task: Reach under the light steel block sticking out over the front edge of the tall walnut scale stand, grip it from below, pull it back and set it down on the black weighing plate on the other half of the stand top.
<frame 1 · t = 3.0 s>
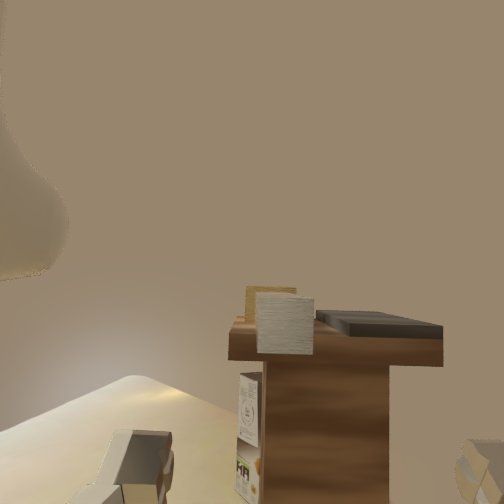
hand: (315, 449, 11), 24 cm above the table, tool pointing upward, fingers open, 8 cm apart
coffee box: (273, 494, 56), on the table
steel block: (273, 329, 34), point 25 cm above the table, touching scale stand
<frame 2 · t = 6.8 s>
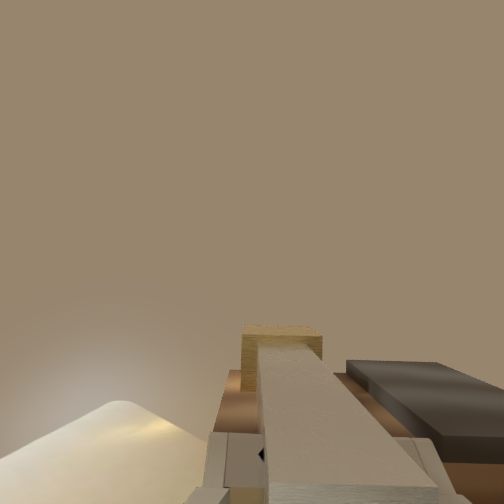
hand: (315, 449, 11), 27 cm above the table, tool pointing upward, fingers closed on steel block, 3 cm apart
steel block: (289, 426, 19), point 25 cm above the table, touching gripper, scale stand
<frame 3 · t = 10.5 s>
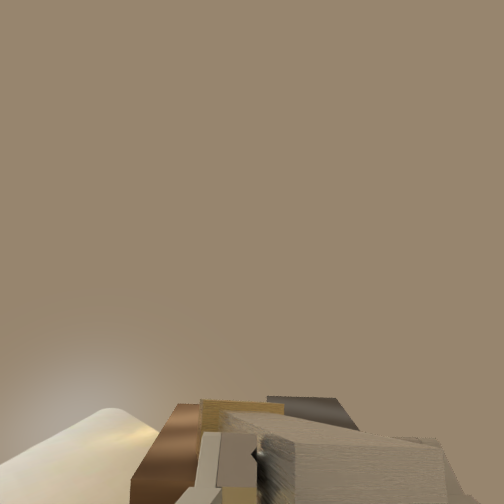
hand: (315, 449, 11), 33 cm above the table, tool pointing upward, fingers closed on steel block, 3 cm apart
steel block: (258, 488, 18), point 28 cm above the table, tilted 15°, touching gripper, scale stand
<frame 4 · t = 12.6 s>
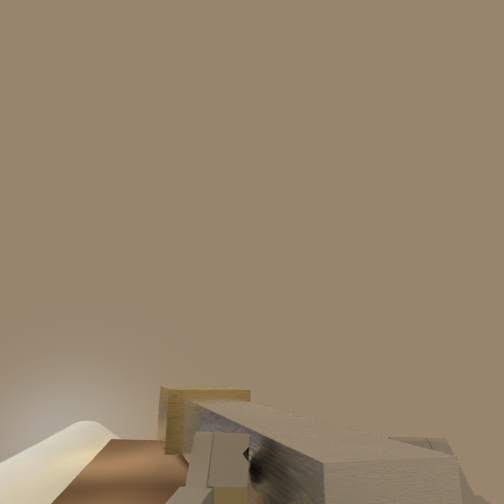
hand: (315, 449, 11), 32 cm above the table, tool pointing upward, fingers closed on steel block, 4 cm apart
steel block: (234, 478, 18), point 28 cm above the table, tilted 12°, touching gripper, scale stand
when the fingers open (29 cm above the table, at t = 14.0 s): steel block stays where it is, resting on scale stand.
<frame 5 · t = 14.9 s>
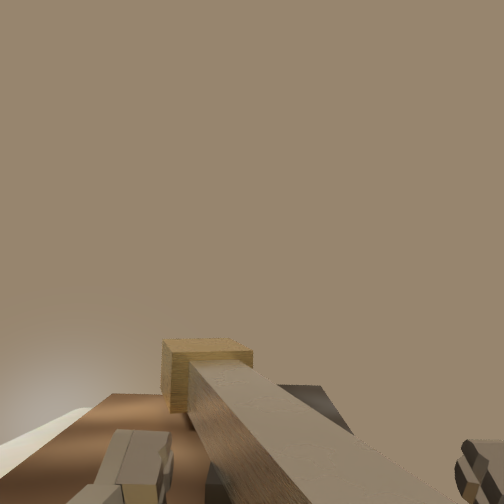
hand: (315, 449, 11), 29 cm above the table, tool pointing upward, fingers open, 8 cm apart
steel block: (239, 450, 19), point 26 cm above the table, touching scale stand
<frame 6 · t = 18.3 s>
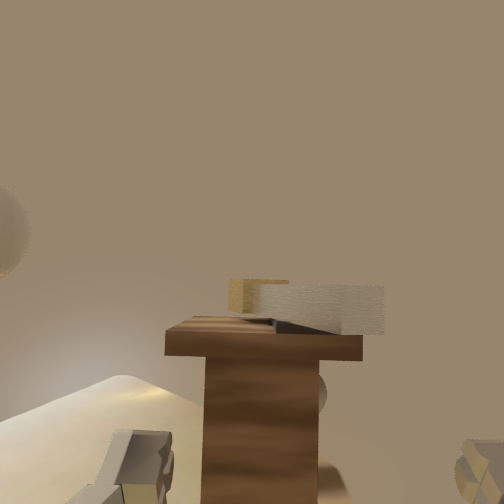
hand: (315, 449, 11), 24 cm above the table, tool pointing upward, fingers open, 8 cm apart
steel block: (287, 318, 36), point 26 cm above the table, touching scale stand
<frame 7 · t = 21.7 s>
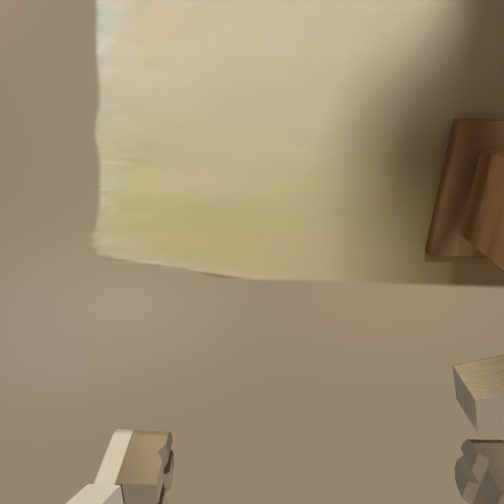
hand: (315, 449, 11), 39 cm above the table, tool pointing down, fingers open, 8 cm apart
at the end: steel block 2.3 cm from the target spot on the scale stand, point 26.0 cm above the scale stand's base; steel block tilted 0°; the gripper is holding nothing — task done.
